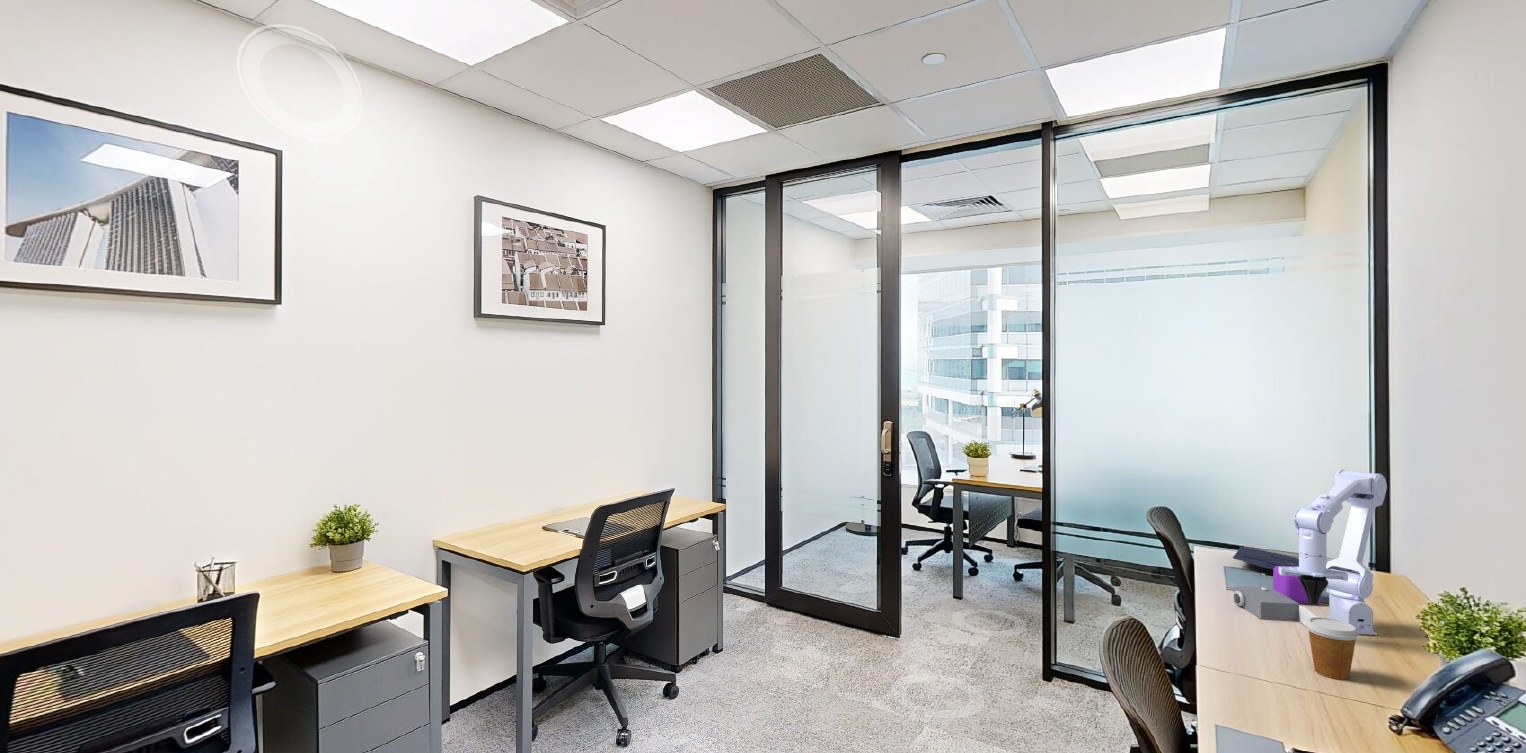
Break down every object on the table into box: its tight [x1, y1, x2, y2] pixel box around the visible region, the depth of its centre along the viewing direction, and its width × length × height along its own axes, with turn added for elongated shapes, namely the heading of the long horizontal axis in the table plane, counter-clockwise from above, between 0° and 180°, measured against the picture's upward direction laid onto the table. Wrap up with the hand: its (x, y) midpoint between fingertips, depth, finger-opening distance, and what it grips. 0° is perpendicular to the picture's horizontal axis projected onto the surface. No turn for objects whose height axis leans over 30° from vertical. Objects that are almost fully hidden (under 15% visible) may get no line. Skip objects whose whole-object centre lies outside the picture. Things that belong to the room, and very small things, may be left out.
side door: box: [1299, 605, 1317, 627], centre depth 179 cm, size 13×1×4 cm, turn 161°
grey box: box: [1233, 585, 1304, 622], centre depth 193 cm, size 15×12×6 cm
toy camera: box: [1272, 566, 1321, 605], centre depth 204 cm, size 11×14×10 cm
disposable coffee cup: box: [1305, 616, 1360, 681], centre depth 155 cm, size 10×10×12 cm
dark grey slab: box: [1232, 545, 1299, 570], centre depth 231 cm, size 24×30×4 cm
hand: (1312, 603), depth 175 cm, fingers closed
